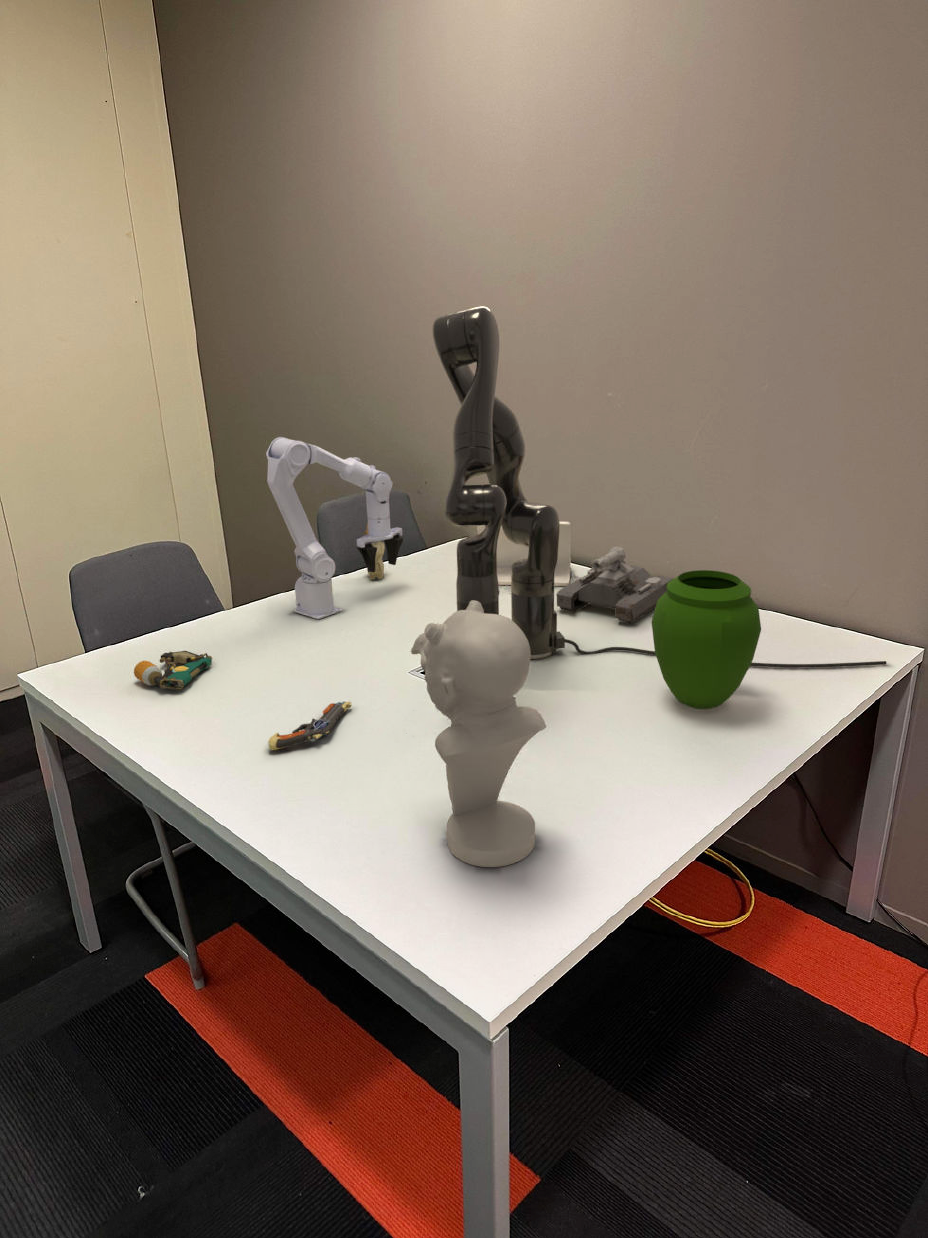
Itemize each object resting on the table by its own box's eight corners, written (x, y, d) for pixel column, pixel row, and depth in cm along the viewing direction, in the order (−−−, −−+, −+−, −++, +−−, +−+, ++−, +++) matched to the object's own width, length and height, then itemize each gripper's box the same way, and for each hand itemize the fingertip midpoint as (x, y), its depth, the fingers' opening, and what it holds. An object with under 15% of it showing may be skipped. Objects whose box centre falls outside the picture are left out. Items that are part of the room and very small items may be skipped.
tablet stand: (569, 585, 229) (570, 524, 223) (476, 584, 232) (475, 523, 226) (570, 566, 246) (571, 508, 240) (484, 564, 249) (483, 507, 243)
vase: (765, 692, 165) (778, 572, 157) (736, 734, 150) (748, 603, 142) (668, 672, 175) (675, 558, 167) (631, 709, 160) (637, 586, 151)
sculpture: (387, 572, 244) (383, 521, 239) (386, 580, 238) (382, 528, 232) (366, 573, 244) (363, 522, 239) (365, 581, 237) (361, 529, 232)
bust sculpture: (481, 772, 140) (476, 569, 128) (565, 848, 120) (569, 617, 108) (392, 800, 134) (378, 588, 121) (465, 886, 114) (457, 642, 101)
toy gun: (263, 740, 148) (317, 738, 146) (303, 699, 166) (351, 696, 163) (266, 754, 148) (320, 752, 146) (305, 712, 166) (354, 709, 164)
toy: (603, 584, 229) (605, 530, 224) (673, 597, 218) (677, 540, 213) (555, 612, 210) (556, 553, 205) (630, 627, 199) (633, 566, 194)
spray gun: (177, 659, 191) (231, 671, 185) (120, 684, 176) (176, 698, 171) (176, 641, 190) (230, 653, 184) (118, 665, 175) (174, 678, 169)
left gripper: (368, 525, 211) (372, 577, 216) (409, 513, 221) (412, 563, 226) (349, 521, 215) (353, 572, 220) (390, 509, 226) (393, 559, 230)
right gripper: (432, 598, 152) (436, 685, 158) (508, 606, 147) (509, 696, 153) (449, 585, 158) (452, 669, 164) (522, 593, 153) (522, 679, 159)
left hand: (381, 567), depth 223 cm, fingers open, 7 cm apart
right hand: (479, 682), depth 159 cm, fingers closed on canister, 4 cm apart
